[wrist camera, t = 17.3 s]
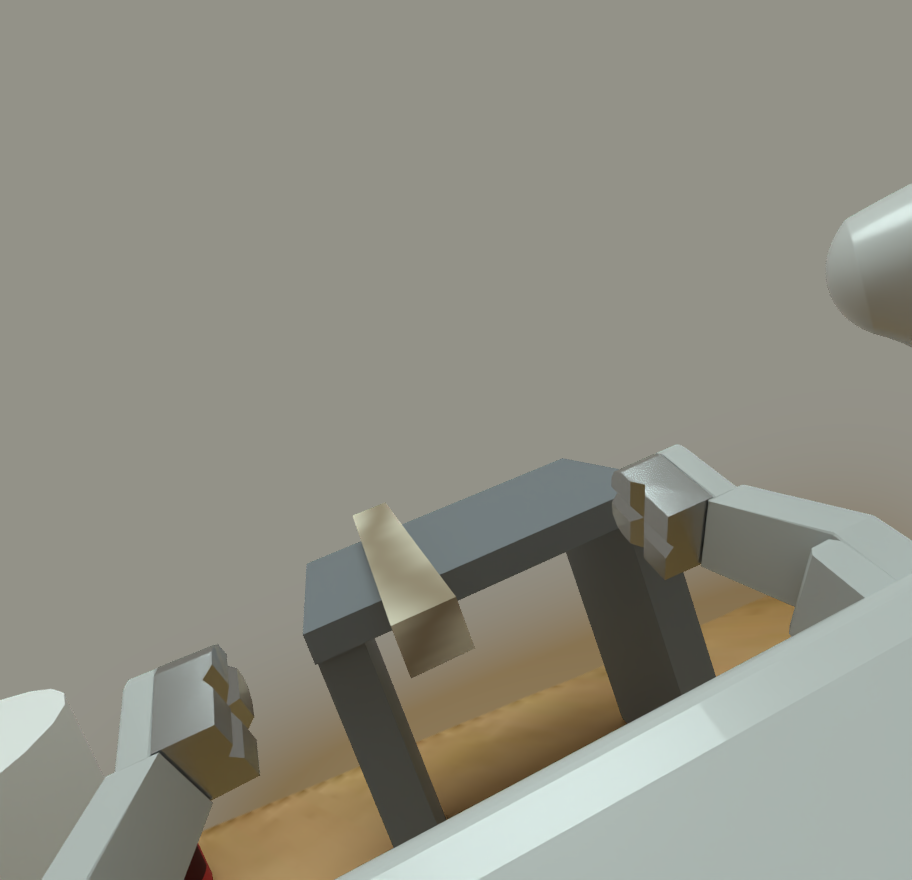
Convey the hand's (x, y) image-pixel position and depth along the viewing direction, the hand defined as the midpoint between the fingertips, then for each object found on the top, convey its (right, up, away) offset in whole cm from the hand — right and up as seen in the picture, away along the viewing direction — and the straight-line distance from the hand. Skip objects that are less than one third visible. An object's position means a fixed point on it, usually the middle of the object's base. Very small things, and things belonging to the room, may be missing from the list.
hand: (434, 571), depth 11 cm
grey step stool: (+10, -28, +36) cm, 47 cm away
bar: (-3, -6, +26) cm, 27 cm away
